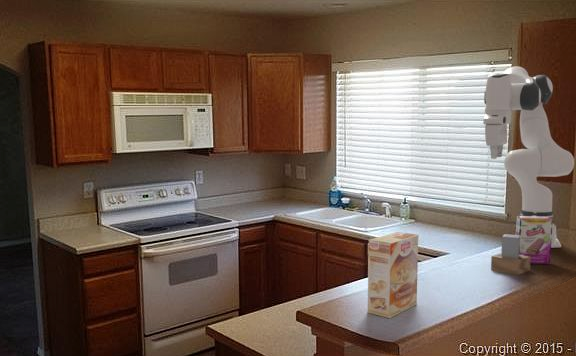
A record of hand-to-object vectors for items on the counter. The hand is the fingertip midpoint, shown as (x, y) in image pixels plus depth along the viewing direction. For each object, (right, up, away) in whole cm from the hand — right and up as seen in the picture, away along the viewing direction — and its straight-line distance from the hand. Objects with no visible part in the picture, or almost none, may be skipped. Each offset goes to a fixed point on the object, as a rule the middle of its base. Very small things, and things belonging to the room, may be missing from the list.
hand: (496, 157), depth 201 cm
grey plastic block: (0, -34, -12) cm, 36 cm away
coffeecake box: (-47, -42, -51) cm, 81 cm away
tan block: (0, -39, -12) cm, 40 cm away
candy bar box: (+12, -37, -1) cm, 39 cm away
